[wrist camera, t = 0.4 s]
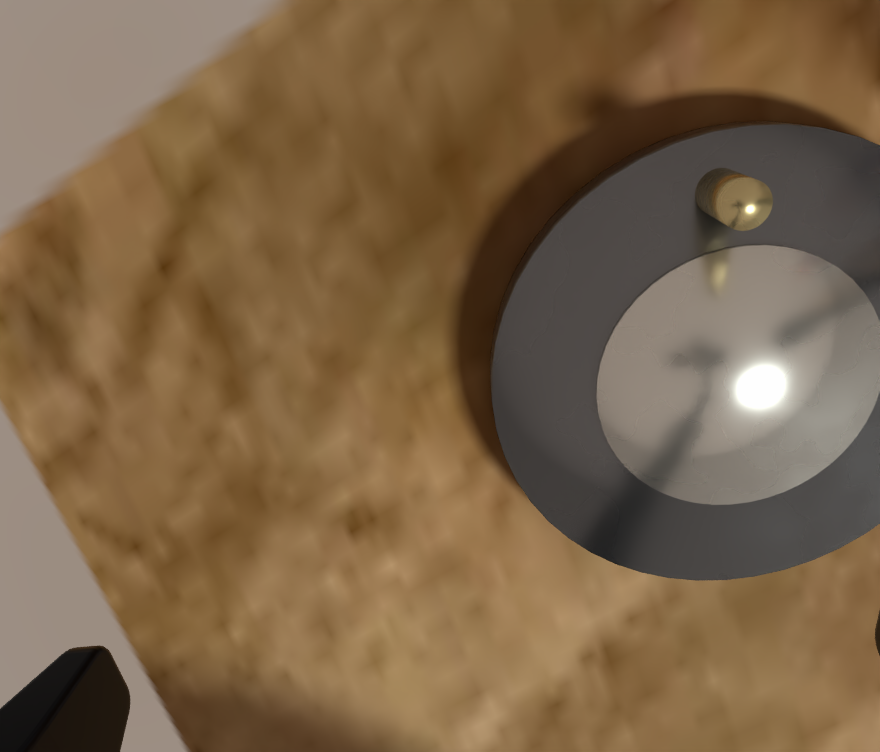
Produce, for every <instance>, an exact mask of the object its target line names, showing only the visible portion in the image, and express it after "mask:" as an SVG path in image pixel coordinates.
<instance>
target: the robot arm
mask: <svg viewBox="0 0 880 752" xmlns="http://www.w3.org/2000/svg"><path fill="white" fill-rule="evenodd" d="M875 641H876V646H877V650H878V653H879V655H880V611H879V616H878V620H877V624H876V629H875ZM129 710H130V694H129V690H128V687H127V685H126V683H125V681H124V679H123V677H122V675H121V673H120V671H119V669H118V667H117V665H116V663H115V661H114V659H113V657H112V655H111V653H110V652H109V650H108V649H106V648H105V647H103V646H89V647H77V648H72V649H69V650H68V651H66V652H65V653H64V654H62V655H61V656H60V657H58V658H57V659H56V660H55V661H54V662H53V663H52V664H50V665H49V666H48V667H47V668H46V669H45V670H44V671H43V672H41V673H40V674H39V675H38V676H37V677H36V678H35V679H33V680H32V681H31V682H30V683H29V684H28V685H27V686H26V687H24V688H23V689H22V690H21V691H20V692H19V693H18V694H16V695H15V696H14V697H13V698H12V699H11V700H10V701H8V702H7V703H6V704H5V705H4V706H3V707H2V708H1V709H0V752H120V749H121V745H122V741H123V737H124V732H125V727H126V724H127V719H128V715H129Z"/></svg>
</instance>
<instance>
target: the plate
mask: <svg viewBox="0 0 880 752" xmlns="http://www.w3.org/2000/svg"><path fill="white" fill-rule="evenodd" d="M490 380H491V396H492V405H493V411H494V417H495V424H496V430H497V433H498V436H499V440H500V443H501V446H502V449H503V452H504V456H505V458H506V460H507V462H508V464H509V466H510V468H511V470H512V472H513V474H514V476H515V479H516V480H517V482H518V483H519V485H520V486H521V488H522V489H523V491H524V492H525V494H526V495H527V497H528V498H529V500H530V501H531V502H532V504H533V505H534V506H535V507H536V508H537V509H538V510H539V511H540V512H541V513H542V515H543V516H544V517H545V518H546V519H547V520H548V521H549V522H550V523H551V524H552V525H554V526H555V527H556V528H557V529H558V530H560V531H561V532H562V533H563V534H564V535H566V536H567V537H568V538H569V539H571V540H572V541H574V542H576V543H577V544H579V545H580V546H582V547H583V548H585V549H587V550H588V551H590V552H591V553H593V554H596V555H598V556H600V557H602V558H604V559H606V560H608V561H611V562H613V563H615V564H618V565H621V566H624V567H627V568H630V569H633V570H636V571H639V572H642V573H647V574H652V575H657V576H662V577H667V578H676V579H687V580H729V579H737V578H745V577H754V576H758V575H763V574H767V573H772V572H776V571H781V570H785V569H788V568H791V567H794V566H797V565H800V564H803V563H806V562H809V561H812V560H814V559H816V558H819V557H821V556H823V555H825V554H828V553H830V552H832V551H834V550H837V549H839V548H841V547H842V546H844V545H846V544H848V543H850V542H851V541H853V540H855V539H857V538H858V537H860V536H862V535H864V534H865V533H867V532H868V531H870V530H871V529H873V528H874V527H875V526H877V525H878V524H880V145H877V144H875V143H872V142H870V141H868V140H865V139H863V138H861V137H858V136H854V135H850V134H846V133H842V132H838V131H834V130H830V129H826V128H821V127H815V126H809V125H803V124H793V123H783V122H773V121H759V122H734V123H728V124H722V125H717V126H711V127H705V128H699V129H696V130H693V131H689V132H686V133H683V134H680V135H676V136H673V137H670V138H667V139H664V140H662V141H659V142H657V143H655V144H653V145H651V146H648V147H646V148H644V149H642V150H639V151H637V152H635V153H633V154H631V155H629V156H628V157H626V158H624V159H623V160H621V161H619V162H618V163H616V164H615V165H613V166H611V167H610V168H608V169H606V170H605V171H603V172H601V173H600V174H599V175H598V176H596V177H595V178H594V179H593V180H591V181H590V182H589V183H588V184H586V185H585V186H584V187H582V188H581V189H580V190H579V191H577V192H576V193H575V194H574V195H573V196H572V197H571V198H570V199H569V200H568V201H567V202H566V203H565V204H564V205H563V206H562V207H561V208H560V209H559V210H558V211H557V212H556V213H555V214H554V215H553V216H552V217H551V218H550V219H549V221H548V222H547V223H546V224H545V226H544V227H543V228H542V230H541V231H540V232H539V234H538V235H537V236H536V237H535V239H534V240H533V241H532V243H531V244H530V245H529V247H528V249H527V251H526V252H525V254H524V256H523V257H522V259H521V261H520V263H519V264H518V266H517V268H516V269H515V271H514V273H513V275H512V278H511V280H510V282H509V285H508V287H507V290H506V292H505V294H504V297H503V299H502V302H501V305H500V309H499V313H498V316H497V320H496V324H495V328H494V333H493V340H492V348H491V356H490Z"/></svg>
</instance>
